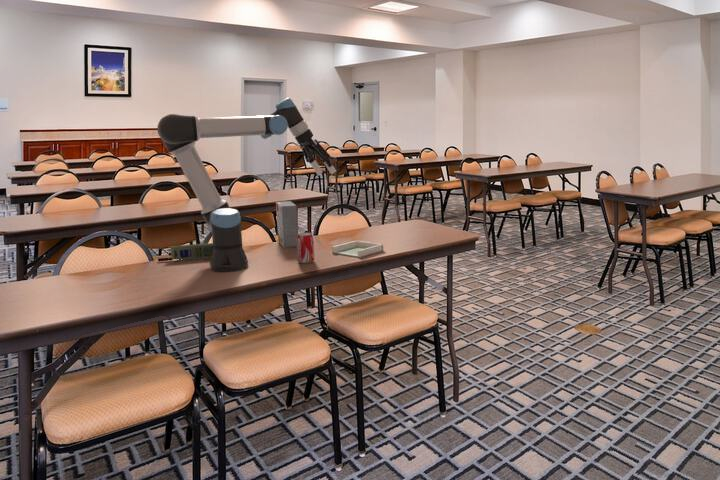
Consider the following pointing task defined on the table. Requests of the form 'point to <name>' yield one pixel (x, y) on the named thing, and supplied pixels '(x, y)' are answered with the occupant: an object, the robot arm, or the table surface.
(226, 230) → the robot arm
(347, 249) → the box
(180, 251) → the handheld radio
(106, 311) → the table surface
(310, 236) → the soda can
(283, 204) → the hard drive box
